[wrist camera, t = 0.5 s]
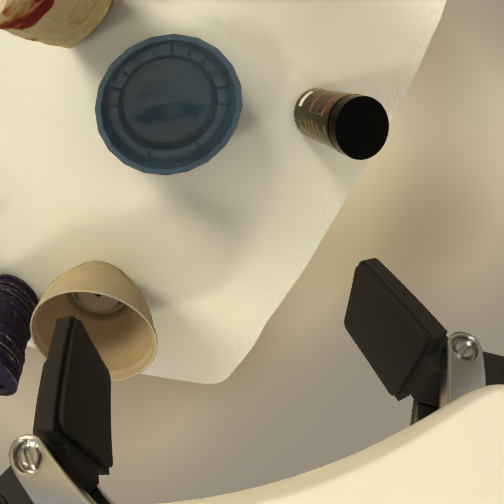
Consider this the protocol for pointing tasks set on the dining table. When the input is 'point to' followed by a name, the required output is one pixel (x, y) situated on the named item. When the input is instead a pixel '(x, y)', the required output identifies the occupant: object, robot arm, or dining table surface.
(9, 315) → the storage jar
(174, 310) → the dining table surface
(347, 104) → the supplement container
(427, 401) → the robot arm
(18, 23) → the food model
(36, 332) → the planter bowl
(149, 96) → the basin
